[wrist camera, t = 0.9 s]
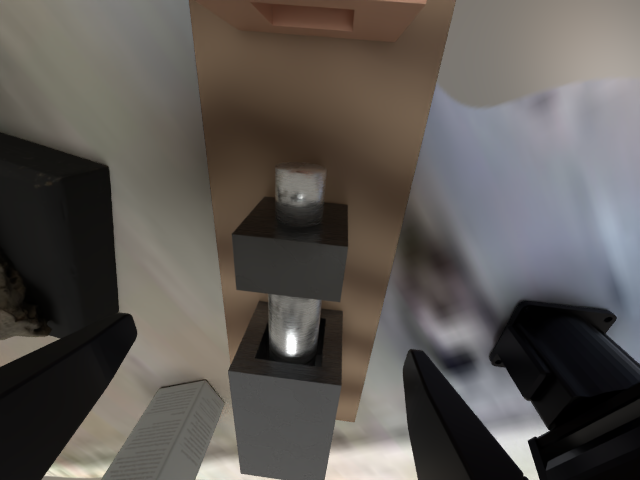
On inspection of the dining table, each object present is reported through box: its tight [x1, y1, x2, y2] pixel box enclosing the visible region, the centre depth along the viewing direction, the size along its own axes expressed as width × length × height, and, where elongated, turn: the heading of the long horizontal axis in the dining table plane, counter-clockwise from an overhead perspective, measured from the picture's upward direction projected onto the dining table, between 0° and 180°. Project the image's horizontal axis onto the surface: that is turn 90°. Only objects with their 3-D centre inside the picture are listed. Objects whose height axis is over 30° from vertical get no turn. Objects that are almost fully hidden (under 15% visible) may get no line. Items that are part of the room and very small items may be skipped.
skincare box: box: [101, 380, 224, 480], centre depth 23 cm, size 6×4×12 cm
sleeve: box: [228, 301, 343, 480], centre depth 20 cm, size 12×6×6 cm, turn 176°
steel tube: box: [232, 162, 348, 366], centre depth 17 cm, size 21×5×5 cm, turn 176°
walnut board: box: [189, 0, 456, 422], centre depth 19 cm, size 35×12×1 cm, turn 176°
